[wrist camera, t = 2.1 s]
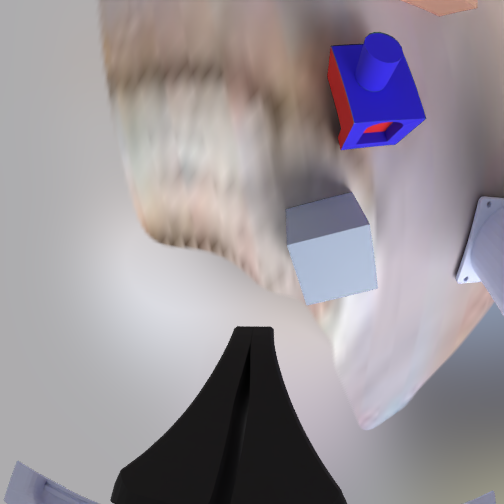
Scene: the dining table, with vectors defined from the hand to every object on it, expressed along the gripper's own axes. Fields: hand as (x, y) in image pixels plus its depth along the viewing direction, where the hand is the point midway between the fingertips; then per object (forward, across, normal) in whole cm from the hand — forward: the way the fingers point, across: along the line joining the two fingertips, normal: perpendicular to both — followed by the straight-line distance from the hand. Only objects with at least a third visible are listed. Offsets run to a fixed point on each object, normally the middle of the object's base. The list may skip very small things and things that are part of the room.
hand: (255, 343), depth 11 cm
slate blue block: (+10, -4, +1) cm, 11 cm away
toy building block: (+11, -6, -8) cm, 15 cm away
